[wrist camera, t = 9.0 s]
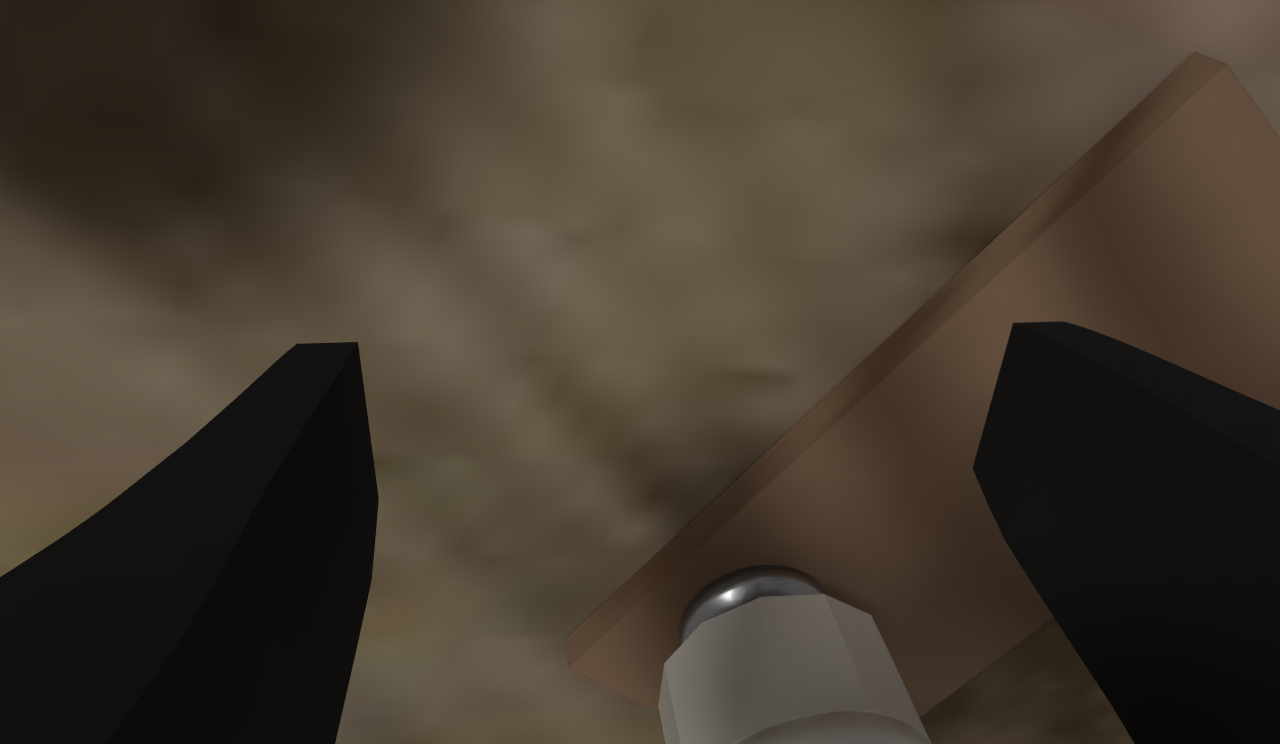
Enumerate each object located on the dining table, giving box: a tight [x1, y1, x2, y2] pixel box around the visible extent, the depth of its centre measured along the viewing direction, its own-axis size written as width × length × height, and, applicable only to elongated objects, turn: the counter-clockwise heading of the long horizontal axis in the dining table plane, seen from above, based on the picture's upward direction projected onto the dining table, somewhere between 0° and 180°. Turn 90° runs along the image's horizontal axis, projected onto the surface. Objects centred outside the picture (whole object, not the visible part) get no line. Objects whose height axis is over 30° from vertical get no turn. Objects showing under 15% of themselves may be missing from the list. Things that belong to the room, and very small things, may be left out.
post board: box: [566, 53, 1280, 717], centre depth 22 cm, size 20×10×6 cm, turn 138°
